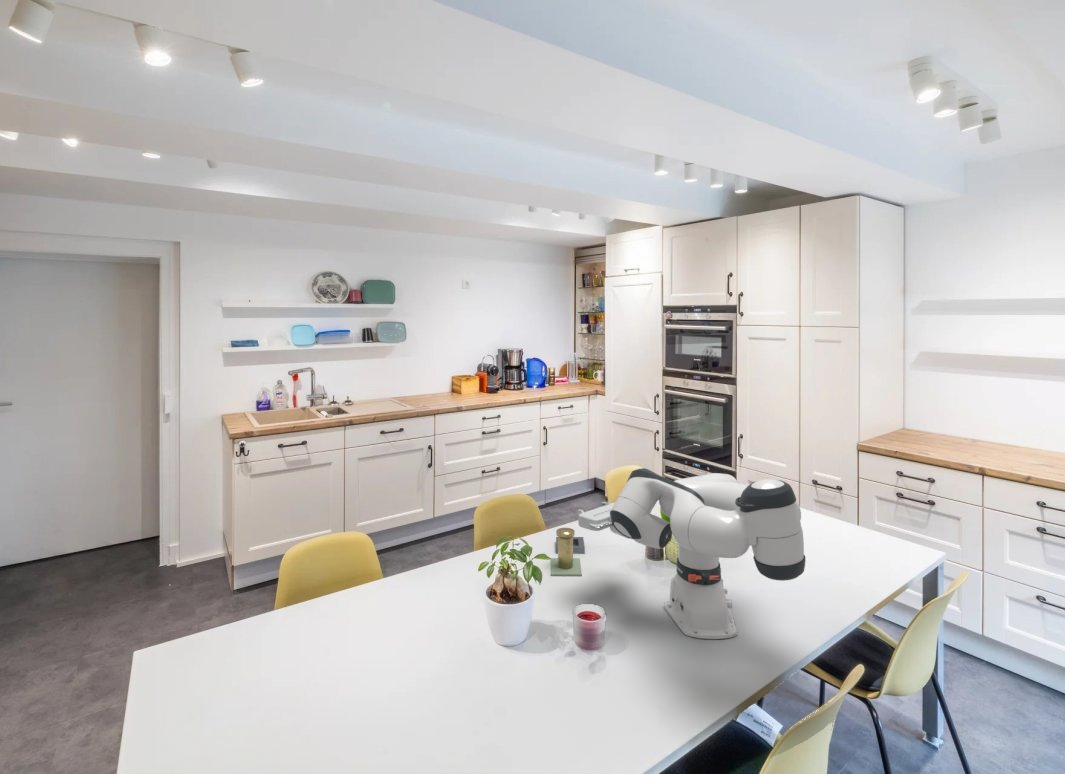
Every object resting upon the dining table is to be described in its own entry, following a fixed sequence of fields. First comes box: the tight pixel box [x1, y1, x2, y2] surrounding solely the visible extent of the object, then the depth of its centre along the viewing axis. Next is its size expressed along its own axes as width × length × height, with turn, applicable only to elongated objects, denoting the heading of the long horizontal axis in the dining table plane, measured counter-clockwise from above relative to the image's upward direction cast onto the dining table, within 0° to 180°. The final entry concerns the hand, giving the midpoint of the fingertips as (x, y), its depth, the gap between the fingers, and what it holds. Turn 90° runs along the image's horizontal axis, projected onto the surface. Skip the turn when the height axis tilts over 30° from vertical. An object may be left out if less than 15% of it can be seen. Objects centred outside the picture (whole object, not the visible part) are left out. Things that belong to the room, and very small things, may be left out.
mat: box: [550, 557, 583, 577], centre depth 183 cm, size 12×10×1 cm
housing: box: [555, 536, 586, 555], centre depth 197 cm, size 10×10×2 cm
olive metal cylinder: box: [555, 527, 575, 569], centre depth 182 cm, size 6×6×12 cm
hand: (589, 507), depth 171 cm, fingers open, 8 cm apart
